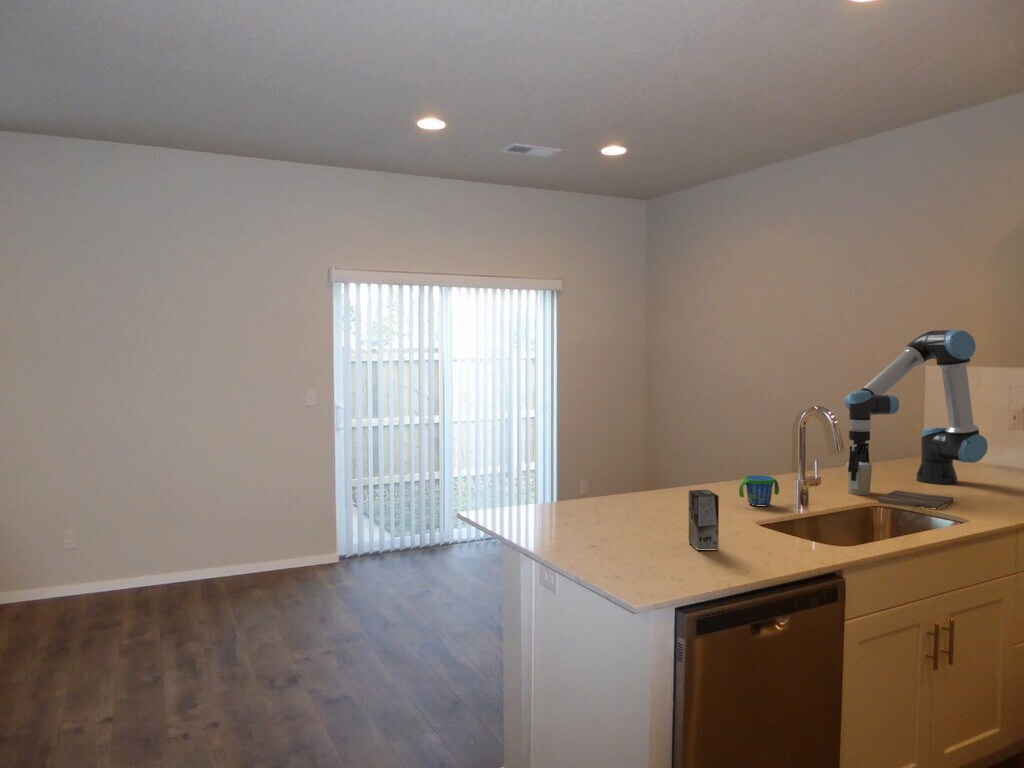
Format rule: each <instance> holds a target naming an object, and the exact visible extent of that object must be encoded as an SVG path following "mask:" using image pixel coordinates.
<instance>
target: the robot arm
mask: <svg viewBox="0 0 1024 768" xmlns="http://www.w3.org/2000/svg"><path fill="white" fill-rule="evenodd" d="M976 348H977V346H976V341H975V339H974V336H972V335H971V334H970V333H969V332H968V331H966V330H963V329H959V330H958V329H944V330H943V329H942V330H935V329H934V330H930V331H927V332H924V333H923V334H921V335H918V336H917V337H916V338H914V339H913V340H911V342H909V343H908V344H907V345H906V346H905V347H904V348H902V353H901V354H899V355H898V356H897V357H896V358H895V359H893V360H892V362H890V363H889V364H888V365H887V366H886V367H884V369H883V370H882V371H879V373H878V374H877V375H876V376H874V377H873V378H872V379H871V380H870V381H869V382H868V383H867V384H865V386H862V388H860V389H859V390H852V391H850V393H849V394H847V395H846V397H845V400H844V405H845V406H846V408H847V410H849V415H848V416H849V421H847V422H848V424H849V425H848V426H849V427H848V428H849V431H848V439H849V440H850V441H853V444H852V445H850V446H849V459H848V462H849V467H848V472H851V480H850V489H858V476H859V473H858V465H859V462H868V463H870V452H869V451H870V450H869V447H870V444H869V441H870V440H871V424H872V423H871V416H873V415H875V416H876V415H888V416H889V415H894V414H896V413H897V412H898V411H899V409H900V401H899V399H898V398H897V397H896V396H895V395H890V394H886V393H887V392H888V391H890V390H891V389H892V388H893V387H894V386H895V385H896V384H897V383H899V382H900V381H901V380H902V379H903V378H904V377H906V376H907V375H908V374H909V373H910V372H911V371H912V370H913V369H915V368H916V367H917V366H922V365H923V364H924V363H925V362H927V361H929V360H933V359H934V360H936V365H937V366H938V367H939V368H941V373H942V382H943V388H944V397H945V398H944V399H945V403H946V404H945V405H946V411H947V420H948V421H947V422H948V427H926V428H923V430H922V433H921V437H920V438H921V440H920V441H921V447H920V449H921V457H920V460H921V461H920V465H919V468H918V470H917V473H916V481H918V482H921V483H926V484H927V483H928V484H934V483H935V485H954V484H957V483H958V475H957V473H956V469H955V466H954V461H958V462H962V463H971V464H972V463H978V462H979V461H981V460H982V459H983V458H984V456H985V455H986V454H987V452H988V448H989V446H988V445H989V443H988V440H987V439H986V438H985V436H983V435H982V434H980V429H979V427H978V425H976V424H974V419H973V418H974V417H973V408H972V407H973V406H972V401H971V392H970V384H969V378H968V377H969V376H968V375H969V374H968V369H967V367H968V365H969V364H970V363H971V358H972V357H973V355H974V354H975V353H974V352H976Z"/></svg>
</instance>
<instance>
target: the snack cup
mask: <svg viewBox="0 0 1024 768" xmlns="http://www.w3.org/2000/svg"><path fill="white" fill-rule="evenodd" d="M779 486H780V485H779V482H778V480H776V479H775V478H774V476H769V475H762V474H761V475H759V474H755V475H754V474H753V475H746V476H745V477H744V478H743V480H742V481H741V483H740V486H739V490H738V493H739V497H740V498H744V497H745V494H744V487H745V488H746V496H747V497H746V498H747V501H748V502H747V503H748V504H749V503H750V504H754V505H769V504H770V505H771V501H772V496H773V494H772V493H774V495H776V496H777V495H779V493H780V487H779ZM773 490H774V491H773ZM750 504H749V505H750ZM770 505H769V506H770Z"/></svg>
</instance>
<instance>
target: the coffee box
mask: <svg viewBox="0 0 1024 768" xmlns="http://www.w3.org/2000/svg"><path fill="white" fill-rule="evenodd" d="M719 497H720V496H719V495H718V494H716V493H715V492H712V491H711V490H709V489H694V490H693V489H691V490H688V543H689V542H690V543H691V544H693V545H694V546H695V547H696V548H698V549H718V550H719V540H720V539H719V533H720V532H719V522H720V521H719V520H720V519H719V518H720V517H719V515H720V514H719V513H720V512H719V510H720V509H719V508H720V507H719V502H720V500H719V499H720V498H719Z"/></svg>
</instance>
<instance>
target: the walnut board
mask: <svg viewBox="0 0 1024 768" xmlns="http://www.w3.org/2000/svg"><path fill="white" fill-rule="evenodd" d="M954 500H955V499H954V496H946V495H937V494H931V493H930V494H928V493H921V492H913V491H905V490H899V489H898V490H892V491H891V492H888V493H887V494H884V495H881V496H879V497H877V502H878V503H884V504H890V505H897V506H898V505H899V506H904V507H912V506H913V508H919V507H924V508H923V509H926V508H936V509H939V508H940V507H942V506H944V505H946V504H948V503H950V502H951V503H953V502H954ZM952 501H953V502H952ZM951 503H950V504H951ZM948 505H949V504H948ZM946 506H947V505H946ZM944 507H945V506H944ZM939 510H940V509H939Z"/></svg>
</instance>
